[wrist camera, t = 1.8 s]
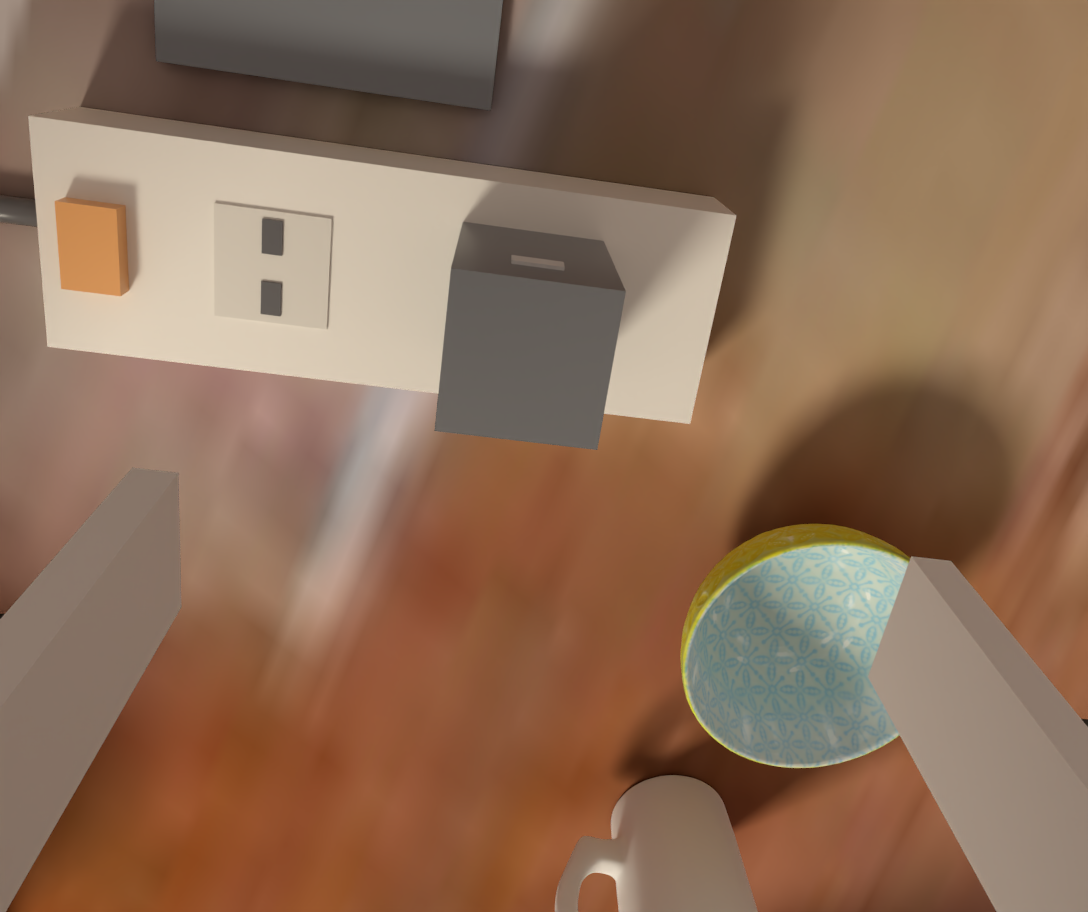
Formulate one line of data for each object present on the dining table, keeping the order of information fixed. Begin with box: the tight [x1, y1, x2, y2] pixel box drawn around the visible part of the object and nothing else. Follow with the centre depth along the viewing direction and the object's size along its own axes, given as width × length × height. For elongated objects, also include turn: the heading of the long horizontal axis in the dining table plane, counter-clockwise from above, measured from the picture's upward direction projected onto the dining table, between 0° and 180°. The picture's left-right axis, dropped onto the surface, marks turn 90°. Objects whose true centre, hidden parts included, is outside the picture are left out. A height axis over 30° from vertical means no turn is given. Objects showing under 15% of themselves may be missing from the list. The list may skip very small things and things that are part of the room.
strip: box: [0, 107, 736, 424], centre depth 34 cm, size 30×8×5 cm, turn 82°
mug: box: [555, 775, 758, 912], centre depth 44 cm, size 10×7×12 cm, turn 73°
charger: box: [435, 222, 626, 450], centre depth 31 cm, size 5×5×9 cm
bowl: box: [681, 524, 910, 768], centre depth 41 cm, size 11×12×6 cm
